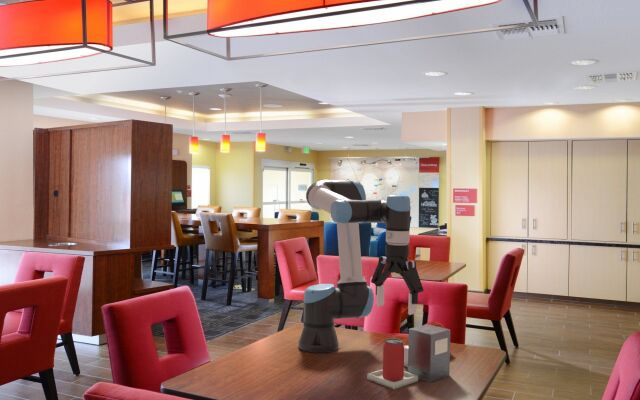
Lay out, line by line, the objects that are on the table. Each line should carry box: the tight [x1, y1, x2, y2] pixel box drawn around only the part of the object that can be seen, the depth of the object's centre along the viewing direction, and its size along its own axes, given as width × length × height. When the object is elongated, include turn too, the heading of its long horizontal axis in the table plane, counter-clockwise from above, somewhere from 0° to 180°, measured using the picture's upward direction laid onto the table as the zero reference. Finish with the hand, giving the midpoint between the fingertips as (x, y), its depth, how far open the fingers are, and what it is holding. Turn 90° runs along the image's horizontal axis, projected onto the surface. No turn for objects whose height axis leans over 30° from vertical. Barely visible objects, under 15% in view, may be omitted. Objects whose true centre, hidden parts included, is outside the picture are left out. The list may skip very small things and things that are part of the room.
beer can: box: [382, 338, 405, 382], centre depth 177 cm, size 7×7×12 cm
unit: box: [407, 324, 451, 383], centre depth 183 cm, size 10×10×15 cm
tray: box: [366, 368, 419, 390], centre depth 177 cm, size 11×11×2 cm
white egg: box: [404, 345, 408, 368], centre depth 193 cm, size 5×5×6 cm
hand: (395, 309), depth 180 cm, fingers open, 13 cm apart
